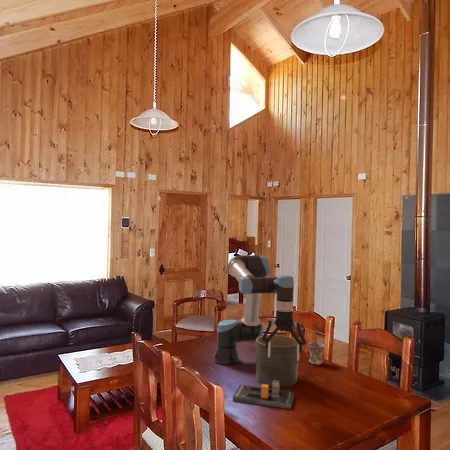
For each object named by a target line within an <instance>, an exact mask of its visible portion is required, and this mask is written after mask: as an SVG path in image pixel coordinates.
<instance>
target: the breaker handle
mask: <svg viewBox="0 0 450 450" xmlns="http://www.w3.org/2000/svg"><path fill="white" fill-rule="evenodd" d="M260 387H261V398H267V399H268V396H269V389H270V386H269V385H266V384H262V383H261V385H260Z"/></svg>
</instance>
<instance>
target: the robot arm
mask: <svg viewBox="0 0 450 450" xmlns="http://www.w3.org/2000/svg"><path fill="white" fill-rule="evenodd" d="M227 271H228V273H229V275H230V276H231V277H233V278H235V279H236V281H237V282H238V290H239V293H241V294H245V303H244V314H243V317H242V318H241V319H240V322H239V321H238V320H236V319H223V320H221V321H220V322H218V324H217V330H216V333H217V335H216V339H217V340H216V349H215V352H214V355H213V362H215V363H216V364H219V365H225V366H230V365H236V364H238V363H240V356H239V355H240V354H239V352H238V351H239V350H238V348H237V345H238V343H252V344H253V343H256V339H257V338H258V337H260V336H263V338H262V340H263V341H265V342H266V349H268V357H269V358H270V352H271V341H269V340H270V339H271V338H272V337H273V336H274V335H276V333H277V332H279V331H280V332H289V334H291V337H292V338H294V339H295V340H296V341H297V343H298V345H297V361H298V362H299V361H300V354H301V353H302V352H303V346H305V345H306V344H307V340H306V338H305V335H304V333H303V331H302V328H301V322H300V321H294V311H293V309H294V290H295V289H294V285H295V284H294V283H295V281H294V277H293V276H292V275H288V274H280V275H278V276H271V277H269V276H270V273H271V267H270V262H269V259H268V257H267V256H265V255H260V254H258V255H253V254H252V255H247V254H246V255H244V254H241V255H237V256H234V257H232V258H231V259H230V260H229V261H228V263H227ZM262 294H276V296H275V297H276V301H275V302H276V305H275V308H276V310H275V320H273V319H269V320H268V326H267V327H266V330H265V331H264V324H263V323H262V322H261V320H260V317H259V315H260V307H261V297H262ZM274 324H275V326H276V328H274V330H272V332H271V334H269V333H270V329H271V327H273V325H274ZM293 326H295V328H296V329H297V332H298V334H299V336H298V335H297V333H296V331H295V330H294V329H293ZM267 335H270V336H269V337H268V338H266V336H267Z"/></svg>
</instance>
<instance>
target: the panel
mask: <svg viewBox="0 0 450 450" xmlns="http://www.w3.org/2000/svg"><path fill="white" fill-rule="evenodd" d="M271 387H272V388H269V396H268V399H267V398H261V386H260V387H259V386H258V387H257V386H253V385H252V386H251V385H245V384H244V385H243V384H239V385H238V387H237V389H236V391H235V392H234V394H233V395H232V401H233V402H239V403H246V404H252V405H259V406H267V407H272V408H279V409H280V408H281V409H289V410H291V408H292V404H293V401H294V397H295V396H294V394H295V393H294V391H289V390H282V389H280V388H281V387H280V381H279V380H273V382H272V386H271Z"/></svg>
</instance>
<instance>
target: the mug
mask: <svg viewBox="0 0 450 450" xmlns="http://www.w3.org/2000/svg"><path fill="white" fill-rule="evenodd" d="M324 349H325V344H323V343H318V342H310V343H308V347H306V348H305V349H304V351H305V352H304V353H305V354H306V355H307V356H308V357H309V359H308V362H309V363H310V364H312V365H318V366H319V365H323V364H324V360H323V353H324ZM307 350H309V351H310V355H309V354H308V353H307Z"/></svg>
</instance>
